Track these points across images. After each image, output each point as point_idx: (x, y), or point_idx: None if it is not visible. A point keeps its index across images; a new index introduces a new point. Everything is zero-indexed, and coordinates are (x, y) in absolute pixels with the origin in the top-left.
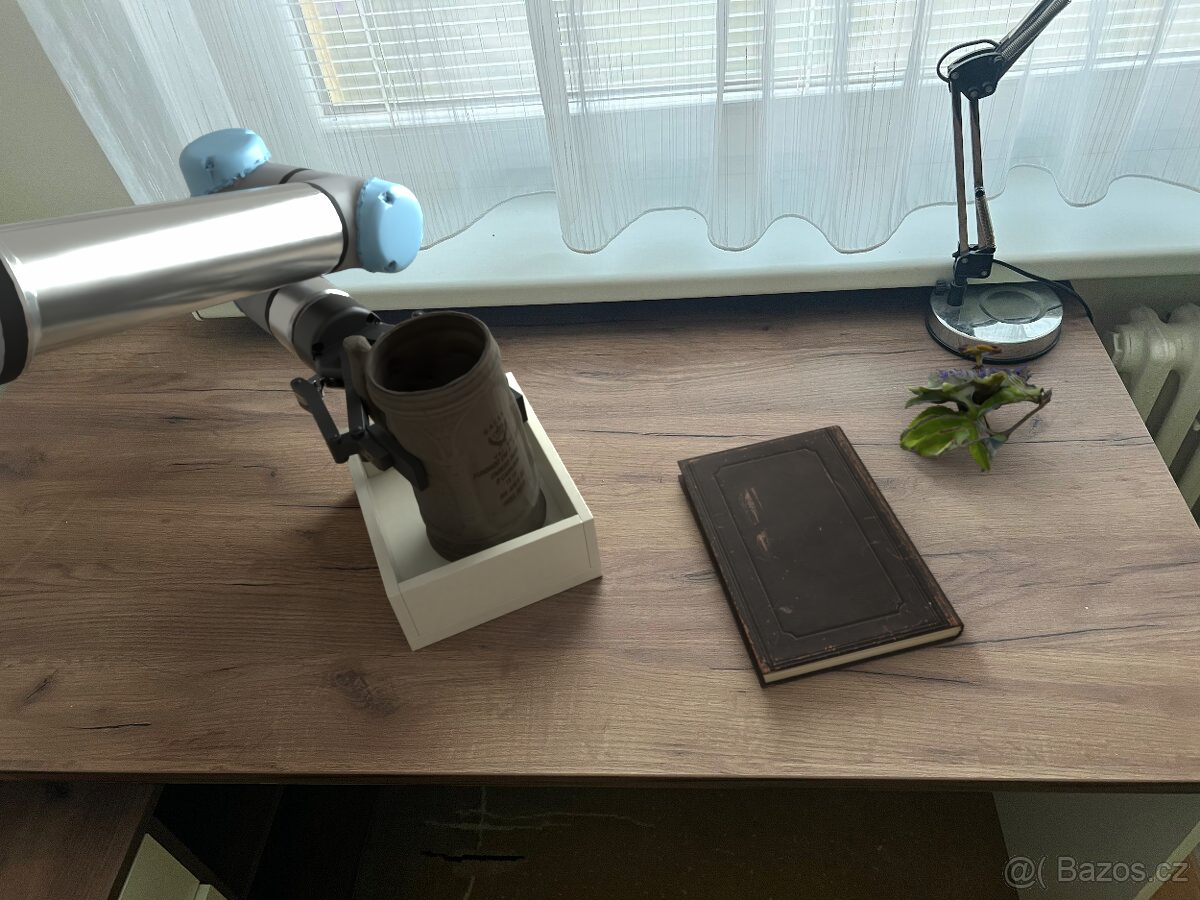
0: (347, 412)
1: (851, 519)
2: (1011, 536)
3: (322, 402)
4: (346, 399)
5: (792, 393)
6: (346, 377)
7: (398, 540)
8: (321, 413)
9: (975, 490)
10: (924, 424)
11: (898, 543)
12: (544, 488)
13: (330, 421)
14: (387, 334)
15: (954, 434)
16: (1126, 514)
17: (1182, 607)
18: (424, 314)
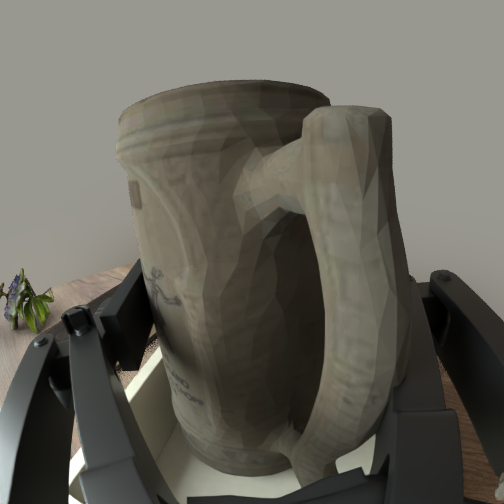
0: (425, 314)
1: (98, 307)
2: (80, 298)
3: (497, 353)
4: (433, 349)
5: (7, 380)
6: (440, 409)
7: (364, 457)
8: (487, 323)
9: (60, 311)
10: (35, 308)
11: (104, 295)
12: (174, 436)
13: (459, 303)
14: (251, 84)
15: (40, 299)
16: (61, 290)
17: (95, 274)
18: (155, 94)
